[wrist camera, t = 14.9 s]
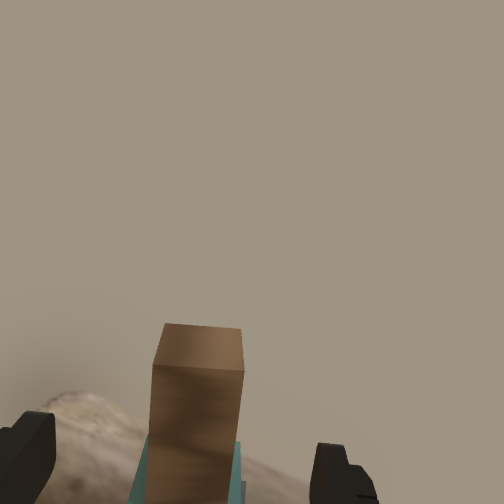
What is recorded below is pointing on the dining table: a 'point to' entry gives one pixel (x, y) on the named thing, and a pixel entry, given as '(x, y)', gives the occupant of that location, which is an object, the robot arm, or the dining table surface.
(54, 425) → the robot arm
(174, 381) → the walnut pillar
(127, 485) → the dining table surface
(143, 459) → the tower top slab
